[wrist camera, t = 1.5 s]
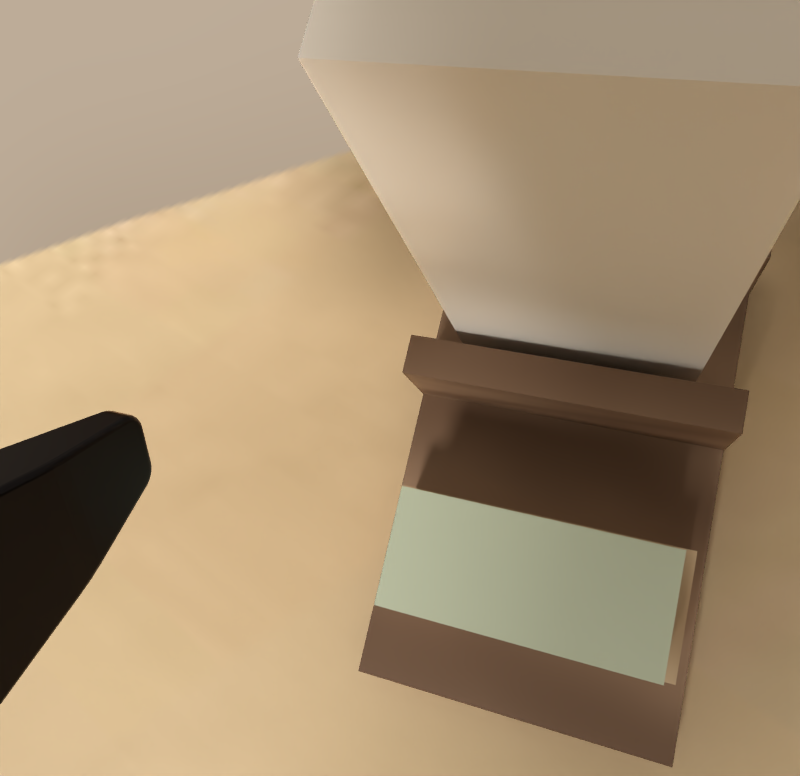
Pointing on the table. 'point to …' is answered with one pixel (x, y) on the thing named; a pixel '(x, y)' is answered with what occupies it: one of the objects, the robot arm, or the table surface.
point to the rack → (563, 513)
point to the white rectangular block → (574, 161)
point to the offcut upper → (534, 582)
